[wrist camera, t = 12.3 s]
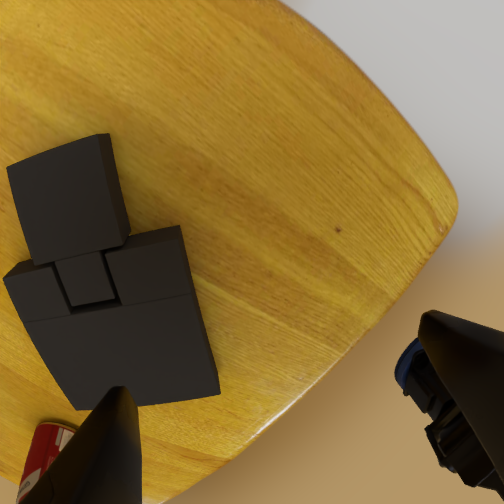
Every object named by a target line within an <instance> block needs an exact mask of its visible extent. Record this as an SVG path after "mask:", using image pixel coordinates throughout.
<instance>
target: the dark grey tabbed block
mask: <svg viewBox="0 0 504 504" xmlns="http://www.w3.org/2000/svg"><path fill="white" fill-rule="evenodd" d="M6 169H7V173H8V178H9V182H10V187H11V191H12V195H13V199H14V202H15V206H16V210H17V213H18V217H19V220H20V224H21V227H22V230H23V233H24V236H25V240H26V243H27V246H28V248H29V251H30V254H31V257H32V260H33V263H34V265H35V266H36V265H40V264H44V263H48V262H52V261H55V265H56V267H57V270H58V273H59V275H60V278H61V281H62V283H63V286H64V288H65V291H66V293H67V296H68V298H69V300H70V303H71V305H72V306H77V305H82V304H88V303H93V302H99V301H104V300H109V299H115V297H116V294H117V289H116V286H115V283H114V281H113V278H112V275H111V272H110V269H109V266H108V263H107V260H106V256H105V253H106V252H107V250H108V249H109V248H112V247H117V246H121V245H123V244H124V243H125V241H126V239H127V237H128V235H129V233H130V232H131V228H130V224H129V220H128V216H127V212H126V208H125V204H124V200H123V196H122V192H121V187H120V183H119V178H118V174H117V169H116V164H115V159H114V154H113V149H112V144H111V138H110V134H109V133H106V134H95V135H92V136H89V137H86V138H82V139H79V140H76V141H73V142H70V143H67V144H64V145H61V146H59V147H56V148H53V149H50V150H47V151H45V152H42V153H39V154H37V155H34V156H32V157H29V158H27V159H24V160H22V161H19V162H17V163H15V164H12V165H10V166H8V167H6Z"/></svg>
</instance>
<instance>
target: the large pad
mask: <svg viewBox="0 0 504 504" xmlns="http://www.w3.org/2000/svg"><path fill="white" fill-rule="evenodd" d="M105 256H106V260H107V263H108V266H109V269H110V272H111V275H112V278H113V281H114V283H115V286H116V289H117V294H116V297H115V299H109V300H104V301H99V302H93V303H88V304H82V305H77V306H72V305H71V303H70V300H69V298H68V296H67V293H66V291H65V288H64V286H63V283H62V281H61V278H60V275H59V273H58V270H57V267H56V265H55V261H52V262H48V263H44V264H40V265H36V266H35V265H34V263H33V260H32V259H31V260H27V261H23V262H19V263H18V264H17V265H16V266H15V267H14V268H13V269H12V270H10V271H9V272H8V273H7V274H6V275H5V276H4V277H3V281H4V284H5V286H6V289H7V291H8V293H9V295H10V298H11V300H12V302H13V304H14V306H15V309H16V311H17V313H18V315H19V317H20V319H21V321H22V322H23V325H24V327H25V328H26V330H27V332H28V334H29V336H30V338H31V340H32V342H33V344H34V345H35V347H36V349H37V351H38V352H39V354H40V356H41V358H42V359H43V361H44V363H45V364H46V366H47V368H48V369H49V371H50V373H51V374H52V376H53V377H54V379H55V380H56V382H57V384H58V385H59V387H60V388H61V390H62V391H63V393H64V394H65V396H66V397H67V398H68V400H69V401H70V403H71V404H72V406H73V407H74V408H75V410H77V411H78V410H93V409H94V408H95V407H96V405H97V404H98V403H99V402H100V400H101V399H102V398H103V397H104V395H105V394H106V393H107V392H108V390H109V389H110V388H111V387H113V386H126V387H127V389H128V390H129V392H130V394H131V396H132V397H133V399H134V401H135V403H136V405H137V406H147V405H155V404H163V403H171V402H178V401H185V400H191V399H197V398H203V397H209V396H215V395H220V394H221V391H220V385H219V378H218V372H217V368H216V365H215V362H214V358H213V355H212V351H211V348H210V344H209V341H208V337H207V333H206V330H205V326H204V322H203V319H202V315H201V311H200V307H199V303H198V300H197V296H196V292H195V288H194V284H193V280H192V276H191V271H190V267H189V263H188V259H187V255H186V250H185V246H184V242H183V237H182V233H181V228H180V225H177V226H172V227H167V228H163V229H158V230H153V231H149V232H144V233H139V234H135V235H130V236H128V237H127V239H126V241H125V243H124V244H123V245H121V246H117V247H112V248H109V249H108V250H107V252H106V253H105Z"/></svg>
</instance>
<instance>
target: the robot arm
mask: <svg viewBox="0 0 504 504" xmlns="http://www.w3.org/2000/svg"><path fill="white" fill-rule="evenodd" d="M418 339H419V341H420V343H421V345H422V347H423V349H420V350H418V351H416V352H415V353H414V354H413V356H412V360H411V364H410V368H409V372H408V376H407V379H406V383H405V387H404V390H403V394H404V396H408V395H410V396H411V397H412V399H413V400H414V402H415V403H416V404H417V406H418V407H419V408H420V410H421V411H422V412H423V413H428V414H429V416H430V417H431V418H432V420H433V422H432V423H431V424H430V425H428V426H427V427H426V428H425V431H426V433H427V437H428V440H429V442H430V443H431V446H432V448H433V449H434V452H435V454H436V456H437V458H438V462H439V465H440V466H441V467H445V468H447V469H448V470H449V471H451V472H453V473H458V474H459V476H460V477H461V479H462V481H463V482H464V484H465V485H468V486H471V487H476V486H479V487H483V488H487V489H491V490H496V491H497V493H498V494H499V495H500V497H501V498H502V499H503V501H504V332H502V331H499V330H496V329H493V328H489V327H486V326H483V325H480V324H477V323H474V322H471V321H467V320H465V319H461V318H458V317H455V316H452V315H449V314H446V313H443V312H440V311H437V310H430V311H428V312H425V313H423V314H422V316H421V320H420V325H419V330H418ZM18 504H142V453H141V442H140V430H139V417H138V408H137V405H136V403H135V401H134V399H133V397H132V396H131V394H130V392H129V390H128V389H127V387H126V386H113V387H111V388H110V389H109V390H108V392H107V393H106V394H105V395H104V397H103V398H102V399H101V400H100V402H99V403H98V404H97V405H96V407H95V408H94V409H93V411H92V412H91V413H90V414H89V416H88V417H87V418H86V419H85V421H84V422H83V423H82V424H81V426H80V427H79V428H78V430H77V431H76V432H75V433H74V435H73V436H72V437H71V438H70V440H69V441H68V442H67V444H66V445H65V446H64V448H63V449H62V450H61V451H60V453H59V454H58V455H57V457H56V458H55V459H54V460H53V462H52V463H51V464H50V466H49V467H48V470H46V471H45V472H44V473H43V475H42V476H41V477H40V479H39V480H38V481H37V482H36V484H35V485H34V486H33V487H32V489H31V490H30V491H29V492H28V493H27V494H26V496H25V497H24V498H23V499H22V500H21V501H20V502H19V503H18Z"/></svg>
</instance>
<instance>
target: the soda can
mask: <svg viewBox="0 0 504 504" xmlns="http://www.w3.org/2000/svg"><path fill="white" fill-rule="evenodd" d="M76 431H77V430H75V429H73V428H71V427H69V426H67V425H64V424H60V423H53V422H44V423H41V424H39V425H38V426H37V427H36V430H35V433H34V436H33V439H32V442H31V446H30V449H29V452H28V456H27V459H26V463H25V467H24V470H23V474H22V478H21V482H20V487H19V491H18V495H17V500H16V504H18V503H19V502H20V501H21V500H22V499H23V498H24V497H25V496H26V494H27V493H28V492H29V491H30V490H31V489H32V487H33V486H34V485H35V484H36V482H37V481H38V480H39V479H40V477H41V476H42V475H43V473H44V472H45V471H46V470H48V467H49V466H50V464H51V463H52V462H53V460H54V459H55V458H56V457H57V455H58V454H59V453H60V451H61V450H62V449H63V448H64V446H65V445H66V444H67V442H68V441H69V440H70V438H71V437H72V436H73V435H74V433H75V432H76Z"/></svg>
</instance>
